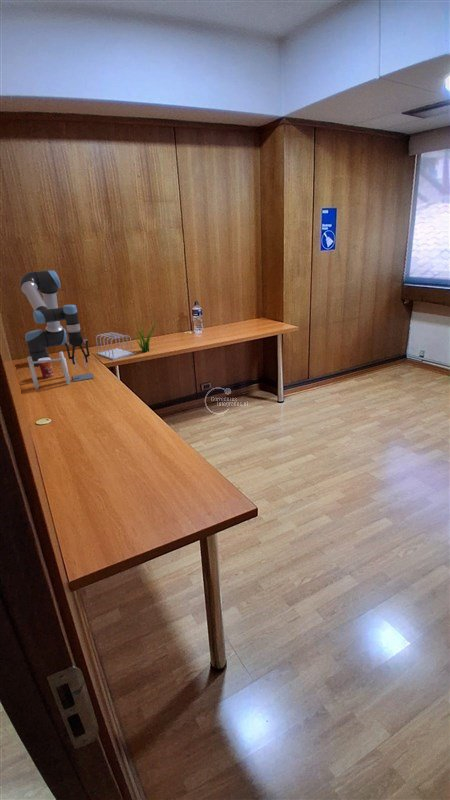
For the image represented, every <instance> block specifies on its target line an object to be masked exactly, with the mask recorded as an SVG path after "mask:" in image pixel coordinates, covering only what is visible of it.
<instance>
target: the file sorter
mask: <svg viewBox="0 0 450 800" xmlns="http://www.w3.org/2000/svg"><path fill="white" fill-rule="evenodd" d="M98 337H99V344H100V351H101V352H100V351H99V344H98V339H97V338H98ZM101 338H103V347H104V350H103V347H102V340H101ZM106 338H107V339H106ZM120 338H122V343H123V344H122V345H123V349H122V347H121V346H122V345H121V339H120ZM124 338H125V340H126V349H127V350H126V349H125V340H124ZM128 338H129V342H128ZM105 339H106V344H105ZM109 339H111V340H110V347H109ZM117 339H118V343H119V348H118V345H117V344H118V343H117ZM113 340H115V341H114V342H115V346H116V348H113V344H112V342H113ZM95 341H96V348H97V353H96V354H97V355H98V356H101V357H103V358H107V359H108V360H112V361H117V360H120V359H124V358H128V357H132V356H135V353H134V352H133V345H132V340H131V336H130V335H125V334H121V333H118V332H114V331H113V332H112V331H111V332H106V333H101V334H97V335H96V337H95ZM128 343H130V349H131V351H129V344H128ZM106 345H107V350H106Z"/></svg>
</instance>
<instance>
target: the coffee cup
mask: <svg viewBox="0 0 450 800" xmlns="http://www.w3.org/2000/svg"><path fill="white" fill-rule="evenodd" d="M50 358H51V357H50ZM50 358H49V357H46V358H41V359H38V361H42V360H51V359H52V358H51V359H50ZM38 367H39V369H40V372H41V375H42V378H43V379H51V378H53V377H55V374H54V369H53V368H54V367H53V364H52V362H43V363H39V366H38Z"/></svg>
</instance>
